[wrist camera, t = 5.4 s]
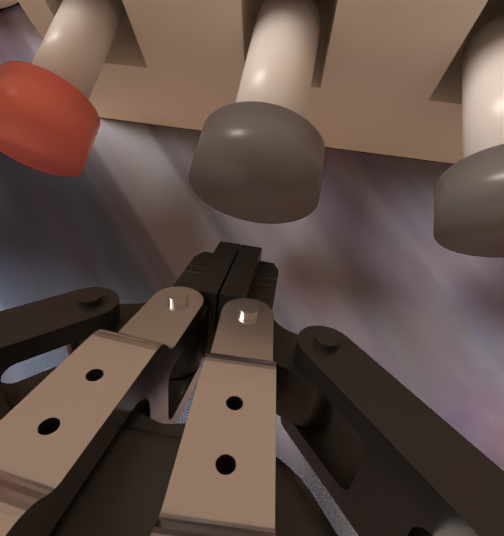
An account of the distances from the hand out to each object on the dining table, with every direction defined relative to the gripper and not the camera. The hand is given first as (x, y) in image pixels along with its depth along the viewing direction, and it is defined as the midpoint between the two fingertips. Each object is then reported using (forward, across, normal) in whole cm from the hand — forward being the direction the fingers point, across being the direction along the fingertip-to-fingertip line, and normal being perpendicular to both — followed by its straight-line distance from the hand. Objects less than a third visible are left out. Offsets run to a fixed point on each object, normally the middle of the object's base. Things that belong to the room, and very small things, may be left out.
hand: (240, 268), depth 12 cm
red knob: (+7, -10, +5) cm, 13 cm away
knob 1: (+7, 0, +4) cm, 8 cm away
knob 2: (+7, +9, +4) cm, 12 cm away
